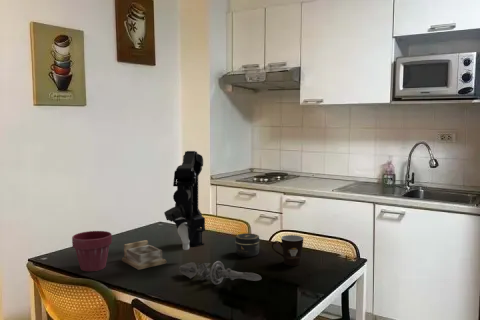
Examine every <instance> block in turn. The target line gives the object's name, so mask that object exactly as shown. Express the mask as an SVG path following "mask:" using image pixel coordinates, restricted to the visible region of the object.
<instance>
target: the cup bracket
mask: <svg viewBox="0 0 480 320" xmlns="http://www.w3.org/2000/svg"><path fill="white" fill-rule="evenodd" d="M123 253H124V254H123V256H124V257H122V258H121V261H122V262H123V263H125V264H127V265H129V266H131V267H133V268H135V269H137V270H138V271H140V270H144V269H147V268H151V267H152V268H153V267H156V266H161V265H164V264H167V260H166V259H165V258H163V250H162V249H160V248H158V247H156V246H153V245H151V244H149V241H148V240H147V239H145V240H140V241H139V240H138V241H135V242H130V243H125V244H123Z"/></svg>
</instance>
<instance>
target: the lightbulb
mask: <svg viewBox="0 0 480 320" xmlns="http://www.w3.org/2000/svg"><path fill="white" fill-rule="evenodd" d="M184 224H187V222H184V223H182V224H180V225H179V227H178V229H177V234H178V236H179V237H180V239H181V244H182V249H183V250H184V251H188V250H190V246H189V242H190V240H189V237H188V228H187V227H186V226H185V225H184Z"/></svg>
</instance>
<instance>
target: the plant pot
mask: <svg viewBox="0 0 480 320" xmlns="http://www.w3.org/2000/svg"><path fill="white" fill-rule="evenodd" d="M112 236H113V235H112V233H111V232H109V231H104V230H92V231H91V230H89V231H83V232H79V233H76V234H74V235H73V236H72V238H71V240H72V241H71V244H72V248H73V249H75V252H76V253H75V255H76V256H77V260H78V264H79V268H80V270H81V271H83V272H98V271H102V270H103V269H105V268H106V266H107V261H108V260H107V259H108V256H109V250H110V245H111V244H112V243H113V237H112Z"/></svg>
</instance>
